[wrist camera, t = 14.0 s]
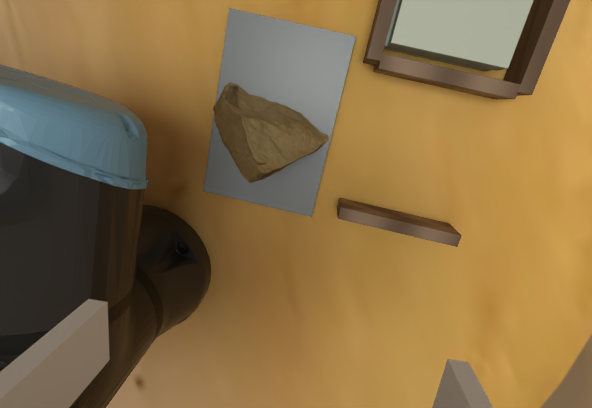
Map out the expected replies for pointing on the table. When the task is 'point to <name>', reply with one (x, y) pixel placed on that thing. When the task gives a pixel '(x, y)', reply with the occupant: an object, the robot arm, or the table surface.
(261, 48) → the board
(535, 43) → the brown frame and bar
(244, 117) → the rock
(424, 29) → the pale grey-green block
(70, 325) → the robot arm
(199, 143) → the table surface
